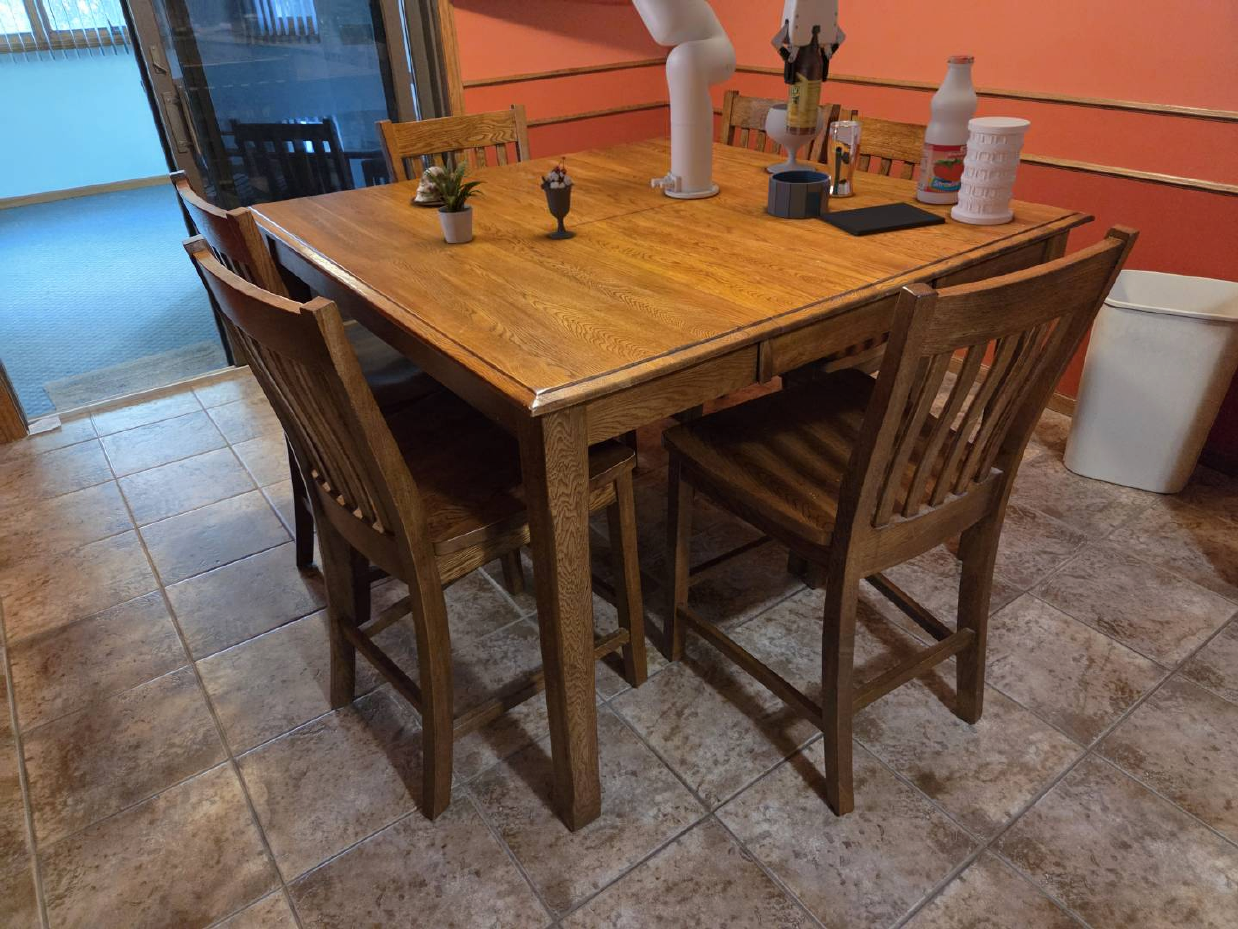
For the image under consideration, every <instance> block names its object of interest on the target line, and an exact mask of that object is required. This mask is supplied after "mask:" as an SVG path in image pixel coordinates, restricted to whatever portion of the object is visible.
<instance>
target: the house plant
mask: <svg viewBox="0 0 1238 929" xmlns="http://www.w3.org/2000/svg"><path fill="white" fill-rule="evenodd" d="M465 159H466V158H464V159H463V160H462V161H461V162H460V163H458V166H457V167H456V169H455V170H454V172H453V175H452V174H451V165H450V156H448V157H447V161H446V166H445V165H444V164H441V168H442V169H443V171H444V174H443V173H439V172H438V170H437V169H436V168H435V167H436V166H434V165H433V164H429V163H427V166H430V167H434V168H435V169H436V170H437V172H438V173H436V174H438V175H439V176H440V177H441V179H442V181H443V183H444V185H445V186H444V185H443V184H441V183H440V182H439V180H438V179H437V177H436V176H435V175H434V174H433V173H432V172H431V171H430V170H429V167H428V168H427V167H425V166H422V167H423V168H424V169H423V168H422V169H421V170H422V171H421V170H418V169H417V170H416V169H415V171H416V172H419V173H422V174H423V172H425V173H427V174H428V175H429V176H430V177H429V176H428V175H427V174H425V173H424V174H425V175H426V176H428V177H429V178H430V179H431V180H432V181H433V182H434V183H435V185H436V187H437V188H438V189H439V190H440V191H441V193H442V197H443V198H444V200H445V202H446V203H445V202H444V201H443V200H441V199H440V198H439V197H438V196H437V197H438V198H435V197H431V198H428V199H432V198H434V199H439V200H441V201H442V202H443V203H444V204H446V205H443V206H441V207H439V208H437V210H436V213H437V215H438V218H439V221H440V224H441V227H442V230H443V234H444V237H445V240H446V242H447V243H449V244H450V243H451V244H463V243H468V242H471V240H473V217H474V216H473V214H474V213H473V211H474V207H473V206H472V205H470V204H465V203H466V201H467V200H468V199H469V198H470V197H474V198H477V199H479V197H478V194H480V195H482V196H483V197H484V198H485V194H484V192H482V191H481V190H478V189H475V190H472V189H473V188H474V187H476V186H478V185H480V184H484V183H485V181H481V180H477V181H470V182H468V183H464V182H465V181H466V179H467V178H468V177H469V176H470V174H471V173H473V171H474V170H476V169H477V168H478V167H480V166H481V165H477V166H475V167H473V168H472V169H471V170H470V171H467V172H466V165H467V163H468V160H469V159H466V160H465ZM425 169H426V170H428V171H429V172H430V173H431V174H432V175H431V174H430V173H429V172H427V171H426V170H425ZM464 174H467V175H464ZM451 175H452V177H453V182H452V183H451ZM463 178H465V179H464V180H463ZM462 180H463V183H462ZM453 184H454V185H453ZM476 193H477V194H476ZM425 196H436V195H435V194H432V193H425V194H424V195H423V197H425ZM458 196H459V197H458ZM423 197H422V198H423ZM440 197H441V196H440ZM428 199H426V200H428Z"/></svg>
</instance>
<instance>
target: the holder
mask: <svg viewBox="0 0 1238 929" xmlns="http://www.w3.org/2000/svg"><path fill="white" fill-rule="evenodd" d="M830 182H831V175H829V173H825V172H823V171H818V170H815V171H811V170H789V171H781V172H777V173H772V174H769V177H768V188H767V190H768V192H767V207H766V208H767V211H766V213H768V214H769V215H772V216H774V217H778V218H784V219H796V220H797V219H800V220H802V219H813V218H820V214H822V213H829V202H830V196H829V193H830Z"/></svg>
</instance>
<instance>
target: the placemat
mask: <svg viewBox="0 0 1238 929" xmlns="http://www.w3.org/2000/svg"><path fill="white" fill-rule="evenodd" d="M819 219H820V220H822V221H824V222H826V223H828V224H830V225H833V226H834V227H837V228H839V229H841V230H843V231H845V232H847V233H849V234H852V235H854V236H855V237H861V236H867V235H874V234H881V233H887V232H895V231H901V230H907V229H915V228H921V227H927V226H928V227H929V226H934V225H941V224H946V218H945V217H944V216H941V215H939V214H936V213H933V212H931V211H928V210H925V209H922V208H920V207H917V206H914V205H912V204H909V203H906V202H904V201H902V202H895V203H888V204H880V205H874V206H873V205H872V206H866V207H865V206H864V207H859V208H852V209H845V210H844V209H843V210H838V211H837V210H836V211H828V213H822V214H820V217H819Z"/></svg>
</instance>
